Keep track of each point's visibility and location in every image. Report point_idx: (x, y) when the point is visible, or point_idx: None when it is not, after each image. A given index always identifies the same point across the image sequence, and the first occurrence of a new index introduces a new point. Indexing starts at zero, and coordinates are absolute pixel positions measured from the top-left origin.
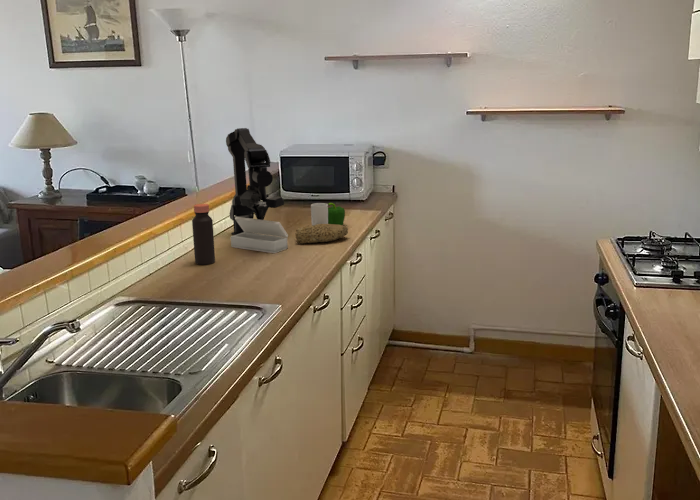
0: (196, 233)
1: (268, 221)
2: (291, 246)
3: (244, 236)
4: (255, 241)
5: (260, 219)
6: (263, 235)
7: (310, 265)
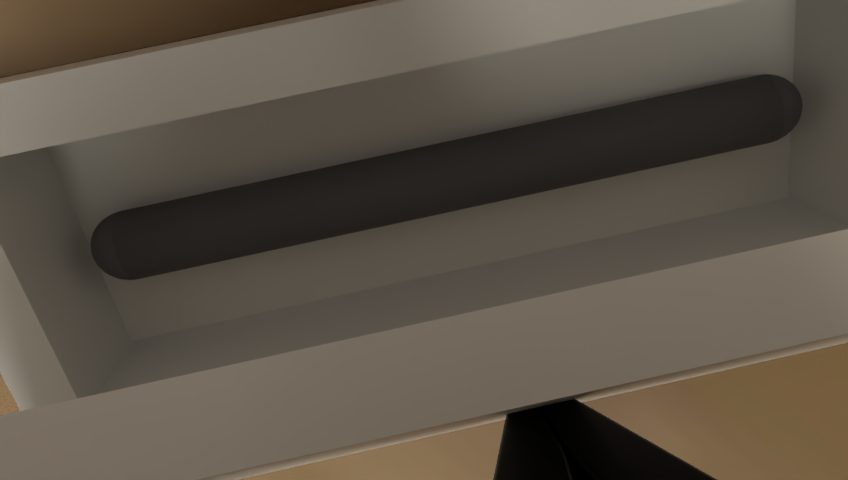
0: None
1: (16, 472)
2: None
3: (834, 209)
4: (341, 11)
5: (515, 476)
6: None
7: None
